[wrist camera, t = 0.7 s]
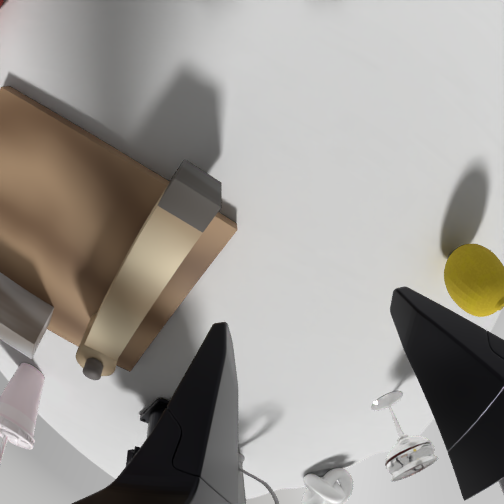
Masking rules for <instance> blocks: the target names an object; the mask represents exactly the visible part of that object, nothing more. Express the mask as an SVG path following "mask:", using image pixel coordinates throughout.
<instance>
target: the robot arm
mask: <svg viewBox="0 0 504 504" xmlns="http://www.w3.org/2000/svg"><path fill="white" fill-rule="evenodd" d="M390 312H391V316H392V318H393V321H394V324H395V326H396V329H397V332H398V334H399V337H400V340H401V343H402V346H403V348H404V351H405V353H406V355H407V358H408V360H409V362H410V364H411V366H412V368H413V370H414V372H415V375H416V377H417V379H418V381H419V383H420V386H421V388H422V390H423V392H424V395H425V397H426V399H427V401H428V404H429V406H430V408H431V411H432V413H433V416H434V418H435V420H436V423H437V425H438V428H439V430H440V433H441V436H442V438H443V441H444V443H445V446H446V449H447V451H448V455H449V457H450V460H451V463H452V466H453V469H454V471H455V475H456V477H457V481H458V484H459V486H460V490H461V493H462V496H463V499H464V500H466V499H469V498H470V497H472V496H474V495H476V494H478V493H479V492H481V491H483V490H485V489H486V488H488V487H489V486H491V485H493V484H494V483H496V482H498V481H499V483H500V486H501V488H502V491H503V493H504V340H503V339H501V338H499V337H497V336H496V335H494V334H492V333H490V332H489V331H486V330H485V329H483V328H481V327H480V326H478V325H476V324H474V323H473V322H471V321H469V320H467V319H465V318H464V317H462V316H460V315H458V314H456V313H455V312H453V311H451V310H449V309H447V308H445V307H444V306H442V305H440V304H438V303H436V302H434V301H432V300H430V299H429V298H427V297H425V296H423V295H421V294H419V293H417V292H415V291H414V290H412V289H410V288H408V287H400V288H396V289H395V290H394V291H393V296H392V301H391V306H390ZM140 420H141V421H143V422H146V423H149V424H148V432H147V439H146V441H145V442H144V444H143V445H142V446H141V448H140V447H136V446H135V449H134V450H128V454H127V462H126V467H125V469H124V470H123V471H122V473H121V474H120V475H119V476H118V478H117V479H116V480H115V481H114V482H112V483H111V484H110V485H109V486H107V487H106V488H104V489H102V490H100V491H98V492H96V493H94V494H92V495H90V496H88V497H85V498H83V499H81V500H79V501H77V502H74V503H72V504H238V382H237V374H236V366H235V358H234V349H233V342H232V338H231V335H230V331H229V327H228V324H227V323H226V322H221V323H215V324H213V325H212V327H211V329H210V331H209V332H208V334H207V336H206V338H205V340H204V341H203V343H202V345H201V347H200V348H199V350H198V352H197V354H196V356H195V357H194V359H193V361H192V363H191V364H190V366H189V368H188V370H187V372H186V373H185V375H184V377H183V379H182V380H181V382H180V384H179V386H178V388H177V389H176V391H175V393H174V395H173V396H172V398H171V400H170V401H167V400H164V399H157V400H156V401H155V402H154V403H153V404H152V405H151V406H150V407H149V408H148V409H147V410H146V411H145V412H144V413H143V414H142V415H141V416H140Z"/></svg>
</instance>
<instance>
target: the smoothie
mask: <svg viewBox="0 0 504 504" xmlns="http://www.w3.org/2000/svg"><path fill="white" fill-rule="evenodd" d="M44 380H45V378H44V375H43V374H42V373H41V372H40V371H39V370H38V369H37V368H36V367H34V366H32V365H30V364H28V363H21V364H20V366H19V367H18V369H17V370H16V372H15V373H14V375H13V377H12V378H11V380H10V381H9V383H8V384H7V386H6V388H5V389H4V391H3V392H2V394H1V396H0V436H1V437H2V438H3V440H2V443H1V447H0V464H1V460H2V457H3V453H4V450H5V446H6V443H7V441H9V442H11V443H13V444H15V445H17V446H19V447H22V448H25V449H33V446H34V443H35V440H34V439H33V435H34V430H35V423H36V418H37V412H38V407H39V402H40V398H41V393H42V388H43V384H44Z"/></svg>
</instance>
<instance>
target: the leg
mask: <svg viewBox="0 0 504 504" xmlns="http://www.w3.org/2000/svg"><path fill="white" fill-rule="evenodd" d="M220 209H221V182H220V181H218V180H217V179H215V178H213V177H212V176H210V175H209V174H207V173H206V172H204V171H203V170H201V169H199V168H198V167H196V166H195V165H193V164H192V163H190V162H188V161H187V160H185V159H184V161H183V162H182V164H181V165H180V167H179V168H178V170H177V171H176V173H175V174H174V176H173V178H172V179H171V181H170V182H169V184H168V185H167V187H166V188H165V190H164V192H163V193H162V195H161V196H160V198H159V200H158V201H157V203H156V205H155V206H154V208H153V210H152V211H151V213H150V215H149V216H148V218H147V220H146V221H145V223H144V225H143V226H142V228H141V230H140V232H139V233H138V235H137V237H136V239H135V240H134V242H133V244H132V246H131V248H130V249H129V251H128V253H127V255H126V257H125V259H124V260H123V262H122V264H121V266H120V268H119V270H118V272H117V274H116V276H115V278H114V280H113V281H112V283H111V285H110V287H109V289H108V291H107V293H106V295H105V297H104V299H103V302H102V304H101V306H100V308H99V310H98V312H97V313H95V314H94V315H92V317H91V319H90V321H89V323H88V326H87V328H86V330H85V333H84V335H83V338H82V340H81V343H80V345H79V348H78V350H77V353H76V360H77V362H78V363H79V364H80V366H81V367H83V368H84V366H85V363H86V360H87V359H88V358H95V359H97V360H99V361H100V362H101V363H102V364H103V366H104V367H103V371H102V374H101V376H109V375H111V374H113V373H114V371H115V368H116V364H117V361H118V358H119V356H120V355H121V353H122V351H123V350H124V348H125V347H126V345H127V343H128V342H129V340H130V339H131V337H132V336H133V334H134V333H135V331H136V330H137V328H138V326H139V325H140V323H141V322H142V320H143V319H144V317H145V316H146V314H147V313H148V311H149V310H150V308H151V307H152V305H153V304H154V302H155V301H156V299H157V298H158V296H159V295H160V293H161V292H162V290H163V289H164V287H165V286H166V285H167V283H168V282H169V280H170V279H171V277H172V276H173V274H174V273H175V271H176V270H177V269H178V267H179V266H180V264H181V263H182V261H183V260H184V259H185V257H186V256H187V254H188V253H189V252H190V250H191V249H192V247H193V246H194V244H195V243H196V242H197V240H198V239H199V238H200V236H201V235H202V233H203V232H204V231H205V229H206V228H207V226H208V225H209V224H210V222H211V221H212V220H213V218H214V217H215V216H216V214H217V213H218V211H219V210H220Z"/></svg>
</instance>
